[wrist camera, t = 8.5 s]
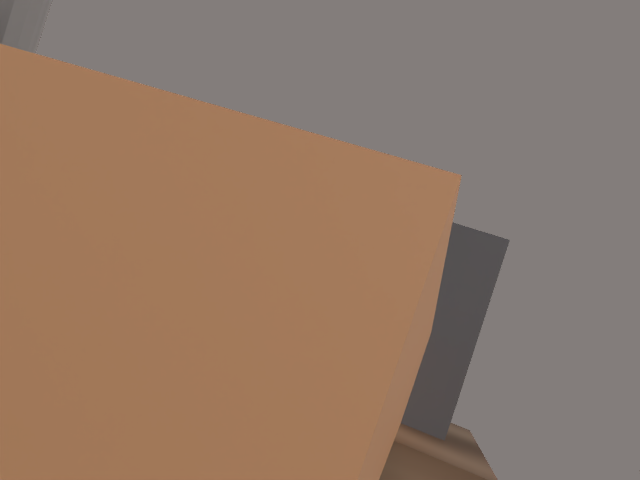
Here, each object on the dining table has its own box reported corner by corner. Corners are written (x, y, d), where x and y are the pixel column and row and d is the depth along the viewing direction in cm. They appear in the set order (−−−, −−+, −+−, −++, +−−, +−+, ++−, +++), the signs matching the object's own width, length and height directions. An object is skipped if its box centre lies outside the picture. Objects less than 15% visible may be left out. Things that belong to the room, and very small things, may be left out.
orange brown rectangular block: (625, 1326, 2) (1057, -522, 3) (-544, 462, 4) (-10, -502, 5) (440, 419, 27) (490, 267, 28) (309, 368, 29) (361, 226, 30)
